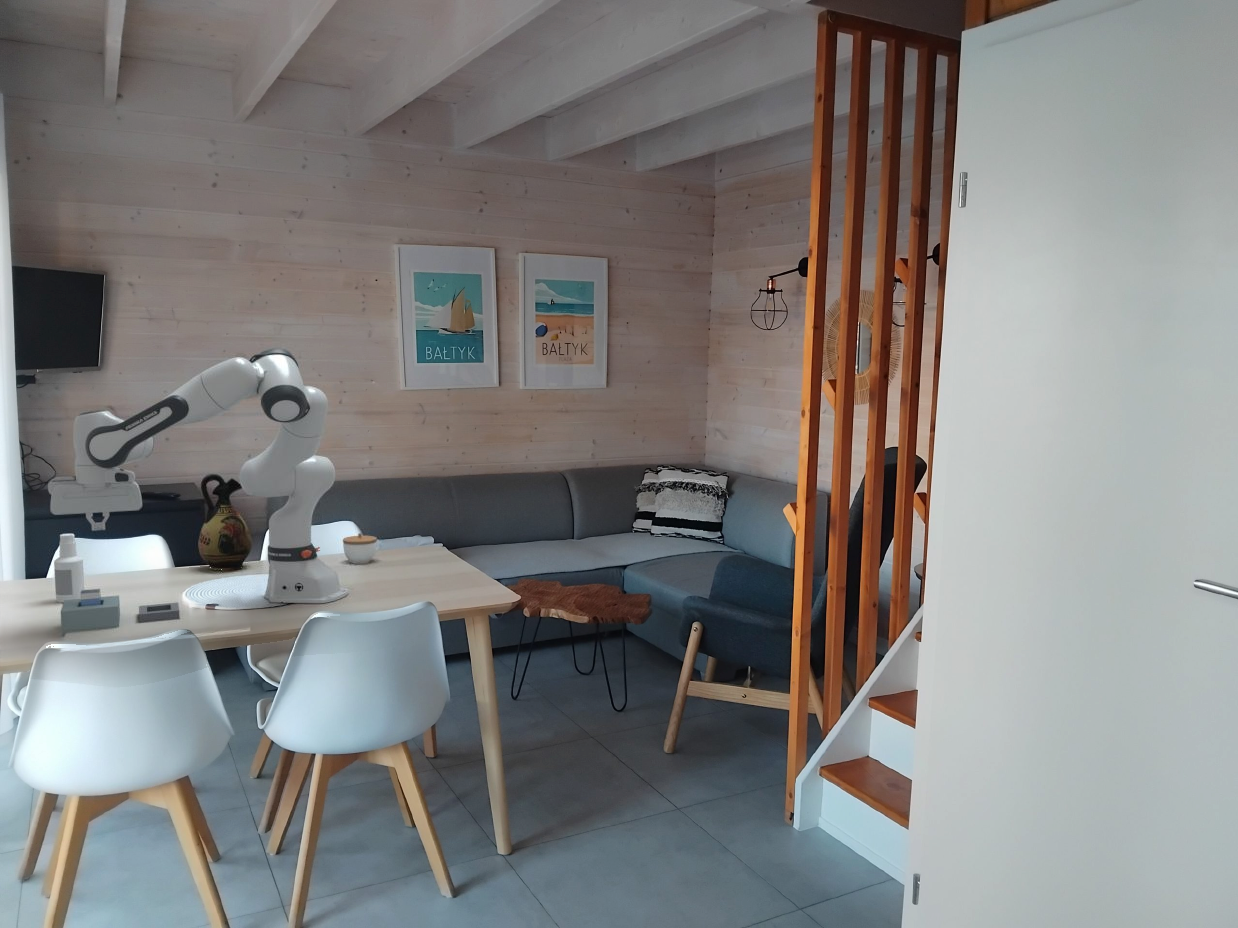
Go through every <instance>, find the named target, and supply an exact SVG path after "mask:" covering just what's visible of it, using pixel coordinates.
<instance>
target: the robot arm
mask: <svg viewBox="0 0 1238 928" xmlns="http://www.w3.org/2000/svg"><path fill="white" fill-rule="evenodd" d="M191 378H192V379H190V380H188V381H186V382H185V383H184V384H183V385H181V386H180V387H179V388H177V389H175V390H174V391H172V393H169V395H167V396H165V397H164V398H163V399H162V400H159V401H158V402H156V403H155V404H153V405H152V406H151V405H150V406H149V407H147V408H146V409H144V410H142V411H140V412H138V413H137V414H135V415H132V416H131V417H129V418H127V419H126V420H124V419H121V418H119V417H117V416H116V415H114V414H113V413H112V412H110V411H109V410H105V409H100V410H92V411H85V412H81V413H79V414H78V415H77V416H75V420H74V423H73V430H72V431H73V432H72V433H73V436H72V437H73V440H72V441H73V449H74V451H75V461H74V474H75V475H74V476H56V477H54V478H52V479H50V480H49V481H48V482H47V491H48V494H49V495H51V497H50V508H49V509H50V513H51V514H53V515H54V516H57V515H59V516H61V515H74V514H76V515H77V514H80V515H81V514H85V518H86V520H87V521H88V523H90V525H91V531H92V532H93V531H94V532H95V531H105V530H106V522H107V520H108V519H109V517H110V513H114V512H128V511H129V512H131V511H132V512H133V511H140V510H141V509H142V507H143V498H142V494H141V489H140V486H139V484H138V483H137V481H135V480H136V474H135V472H134V471H131V470H127V469H125V468H118V467H119V466H121V465H127V464H131V463H132V464H133V463H134V462H139V461H142V460H145V459H147V458H148V457H149V456H150V455H151V454H152V452H153V450H154V447H155V440H154V436H156V435H158V434H160V433H162V432H164V431H166V430H169V429H171V428H174V427H179V426H183V425H189V424H194V423H200V422H205V421H208V420H212V419H214V418H217V417H219V416H221V415H223V414H225V413H226V412H228V411H230V410H231V409H233V408H235V407H236V406H238V405H239V404H240V403H242V402H243V401H245V400H249V399H253V398H259V400H260V406H261V409H262V411H263V413H264V414H265V415H266V416H267V418H268V419H270V420H272V421H274V422H277V423H280V424H279V427H278V431H277V433H276V436H275V438H274V440H273V441H272V443H270V445H269V446H268V447H266V449H265V450H264V451H262V452H261V453H260V454H259V455H257V456H255V457H253V458H251V459H249V460H247V461H245V463H244V464H243V465H242V467H241V469H240V471H239V478H238V479H239V484H241V487H242V490H243V491H244V492H245V493H246V494H247V495H248V496H252V497H258V498H259V497H260V498H276V497H286V496H288V499H287V502H286V503H285V505H284V506H282V507H281V508H280V509H278V510H276V511H274V513H272V514H271V516H270V517H269V520H268V544H269V545H268V546H267V559H268V565H269V566H268V578H267V584H266V589H265V592H264V598H266V599H267V598H268V601H269V603H281V602H283V603H285V604H286V603H290V604H291V603H292V604H325V603H331V602H335V601H337V600H340V599H342V598H344V597H346V596H347V595H348V594H349V589H348V588H343V587H341V586H340V585H341V584H340V580H339V575H338V572H336V570H334V569H333V568H332V567H330V566H329V565H327V564H326V563H325V562H324V561H322V560H321V559H320V558H319V557H318V554H317V553H318V552H320V551H321V546H318V547H315V546H314V544H313V543H312V521H313V513H314V511H315V508H316V506H317V504H318V502H319V501H320V499H321V498H322V497H323V495H324V494H325V493H326V492H327V491H328V490H330V489H331V488H332V486H333V485H334V482H335V480H336V469H335V466H334V464H333V462H332V461H331V460H330V459H329V458H328V457H327V456H322V455H316V454H317V452H318V450H319V448H320V446H321V445H320V444H321V441H322V438H323V435H324V431H325V428H326V424H327V419H328V410H329V401H328V397H327V395H326V394H325V392H323V391H322V390H321V389H320V388H317V387H315V386H310V385H304V381H303V378H302V375H301V372H300V369H299V364H298V362H297V360H296V357H295V356H294V355H293V354H292V353H291V352H290V351H288V350H287V349H285V348H280V347H279V348H270V349H265V350H264V351H263V350H262V351H261V352H260V353H257V354H254V355H252V356H251V358H250V359H249V360H248V359H246V358H245V357H241V356H238V357H237V356H236V357H232V358H230V359H229V358H228V359H226V360H224V361H221V362H220V363H217V364H215V365H213V366H211V367H209V368H207V369H205V370H203V371H202V372H200V373H199V374H197V375H195V376H194V377H191ZM94 513H102V517H104V518H103V519H102V521H101V522H95V520H94V519H93V517H94V515H93V514H94Z"/></svg>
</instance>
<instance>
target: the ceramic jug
mask: <svg viewBox="0 0 1238 928" xmlns="http://www.w3.org/2000/svg"><path fill="white" fill-rule="evenodd" d="M214 481H216V482H218V485H217V486H216V487H215V488H214V489H213V490H212V495H213V496H217V501H216V503H215V505H214V503H213V501H212V499H211V497H210V494H209V492H208V486H207V485H208V483H209V482H214ZM200 489H201V492H202V493H201V494H202V496H203V498H204V501H205V504H206V506H207V511H206V512H207V513H206V518H205V522H204V523H203V525H202V526H201V530H200V531H199V537H198V550H199V551H198V552H199V555H200V557H201V559H203V561H204V562H205V563H206V564H207V565H208V569H209V570H212V569H216V570H215V571H219V570H221V569H222V570H226V571H238V570H240V568H241V567H242V568H244V567H243V564H244V562H245V561H246V559H247V558H248V556H249V555H250V554H251V550H252V545H253V544H252V537H251V533H250V530H249V528H248V527H249V526H248V525H247V524H246V522H245V520H244V519H243V517H242V516H241V515H240V513H239V512H238V511H237V509H236V508H235V507H234V506H233V504H232V502H231V499H230V496H231V495H233V493H235V492H237V491H240V490H241V489H242V490H243V488H242V487H241V484H240V482H239V481H237V480H235V479H234V478H233V477H231V478H230V479H228V481H227V482H226V481H225V479H224V478H223V476H221V475H219V474H217V473H216V474H215V473H209V474H207V475H205V476H204V477H203V478H202V479H201V483H200ZM209 567H211V568H209ZM242 568H241V569H242ZM226 571H225V572H226Z"/></svg>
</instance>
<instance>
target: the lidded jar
mask: <svg viewBox="0 0 1238 928" xmlns="http://www.w3.org/2000/svg"><path fill="white" fill-rule="evenodd" d="M357 534H358V535H351V536H347V537H344V538H343V539H342V543H343V544H342V545H343V552H344V555H345V558H346V559H347V560H348V561H350V563H351V564H357V565H358V564H369V563H370V562H371V560H372V559H373V558H374V557H375V556H376V552H377V542H378V541H377V540H378V538H377V537H376V536H372V535H362V533H357Z"/></svg>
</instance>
